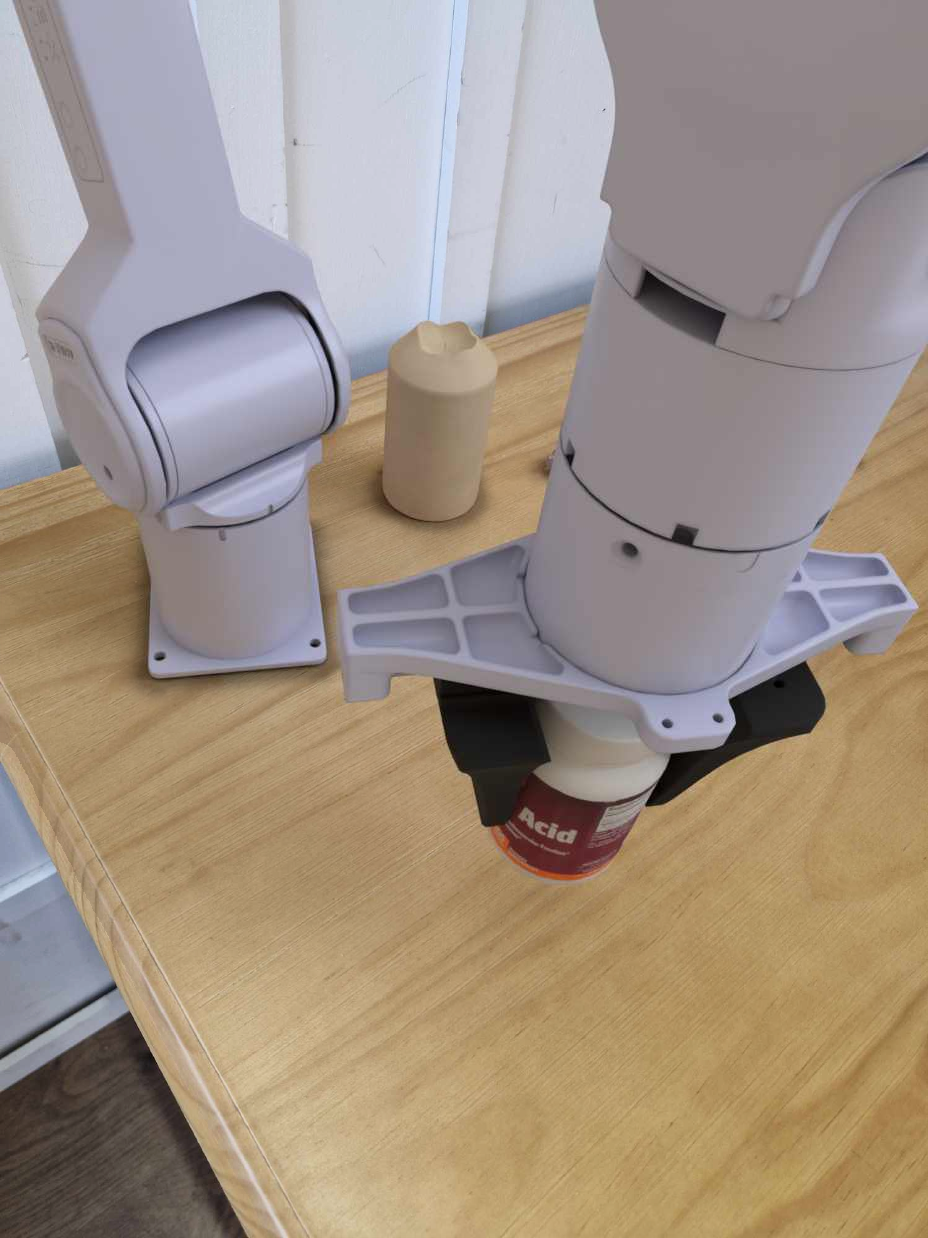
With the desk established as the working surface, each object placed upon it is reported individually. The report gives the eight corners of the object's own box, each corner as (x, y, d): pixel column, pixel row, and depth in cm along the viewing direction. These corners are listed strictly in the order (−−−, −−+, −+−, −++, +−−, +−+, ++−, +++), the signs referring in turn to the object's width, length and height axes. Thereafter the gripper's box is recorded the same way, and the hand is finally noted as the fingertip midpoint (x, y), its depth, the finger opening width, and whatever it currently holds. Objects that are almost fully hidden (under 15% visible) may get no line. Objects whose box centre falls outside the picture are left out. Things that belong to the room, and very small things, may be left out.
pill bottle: (456, 810, 30) (487, 660, 24) (555, 741, 32) (609, 587, 26) (550, 920, 28) (612, 786, 22) (650, 837, 30) (733, 695, 24)
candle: (362, 492, 50) (366, 334, 42) (419, 446, 53) (432, 291, 45) (442, 537, 48) (461, 380, 40) (495, 486, 51) (523, 332, 44)
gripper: (367, 631, 14) (354, 945, 24) (1113, 574, 17) (822, 874, 27) (327, 374, 19) (330, 731, 29) (926, 364, 21) (735, 691, 32)
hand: (566, 788), depth 28 cm, fingers closed on pill bottle, 5 cm apart
